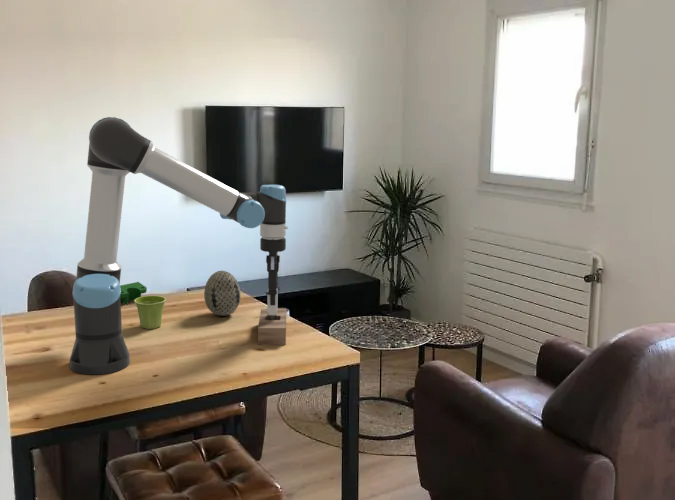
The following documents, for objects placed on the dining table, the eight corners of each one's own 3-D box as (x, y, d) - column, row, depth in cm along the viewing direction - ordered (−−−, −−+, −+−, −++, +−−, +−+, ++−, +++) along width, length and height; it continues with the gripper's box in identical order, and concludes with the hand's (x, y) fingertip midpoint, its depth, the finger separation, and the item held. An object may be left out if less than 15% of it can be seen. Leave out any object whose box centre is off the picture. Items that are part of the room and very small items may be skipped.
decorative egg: (230, 322, 231) (230, 276, 228) (198, 318, 235) (197, 273, 232) (246, 312, 242) (246, 268, 239) (214, 308, 246) (214, 265, 243)
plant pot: (168, 329, 223) (167, 302, 221) (137, 332, 220) (136, 304, 218) (164, 320, 232) (163, 294, 230) (133, 323, 228) (132, 296, 226)
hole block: (285, 344, 212) (285, 328, 211) (258, 344, 211) (258, 328, 210) (286, 323, 231) (286, 308, 230) (261, 323, 231) (261, 308, 230)
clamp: (123, 317, 249) (116, 297, 244) (113, 309, 252) (106, 290, 247) (151, 298, 256) (145, 279, 250) (141, 291, 259) (135, 272, 254)
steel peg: (277, 322, 219) (277, 290, 217) (267, 322, 219) (267, 290, 217) (277, 319, 222) (277, 287, 220) (267, 319, 222) (267, 287, 220)
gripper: (285, 242, 207) (284, 321, 212) (286, 232, 223) (285, 305, 228) (259, 242, 207) (259, 321, 212) (261, 232, 223) (261, 305, 227)
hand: (272, 313), depth 220 cm, fingers closed on steel peg, 3 cm apart
